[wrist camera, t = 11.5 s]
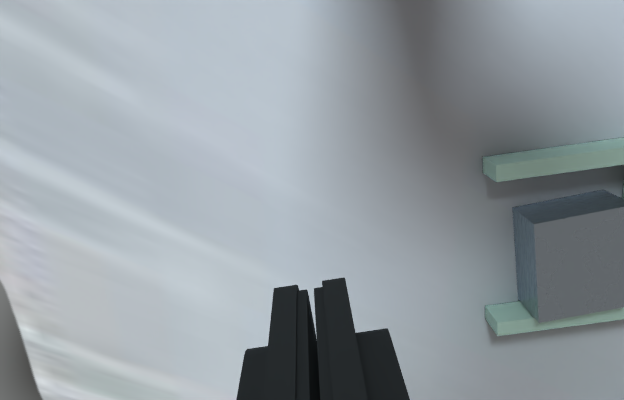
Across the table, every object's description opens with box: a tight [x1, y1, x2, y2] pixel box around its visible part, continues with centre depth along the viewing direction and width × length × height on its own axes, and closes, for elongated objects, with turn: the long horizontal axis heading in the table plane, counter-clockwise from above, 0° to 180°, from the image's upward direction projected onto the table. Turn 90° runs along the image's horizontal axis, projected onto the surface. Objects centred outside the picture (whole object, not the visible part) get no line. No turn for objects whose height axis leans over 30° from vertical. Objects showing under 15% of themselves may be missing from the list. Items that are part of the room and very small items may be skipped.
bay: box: [483, 137, 624, 336], centre depth 42 cm, size 17×14×3 cm
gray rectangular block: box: [512, 190, 624, 323], centre depth 43 cm, size 10×8×4 cm
